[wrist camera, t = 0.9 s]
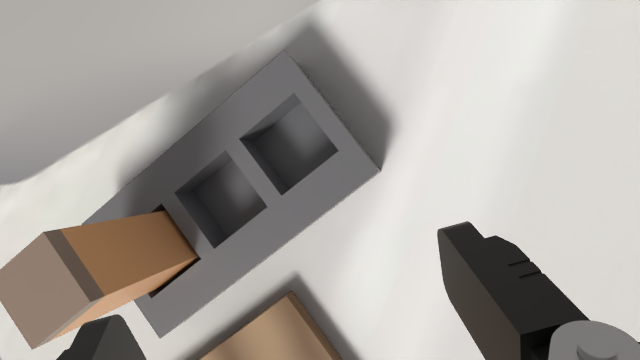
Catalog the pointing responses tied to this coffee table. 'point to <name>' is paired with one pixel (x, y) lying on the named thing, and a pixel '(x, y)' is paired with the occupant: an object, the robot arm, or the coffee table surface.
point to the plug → (90, 272)
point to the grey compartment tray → (244, 184)
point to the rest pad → (277, 336)
